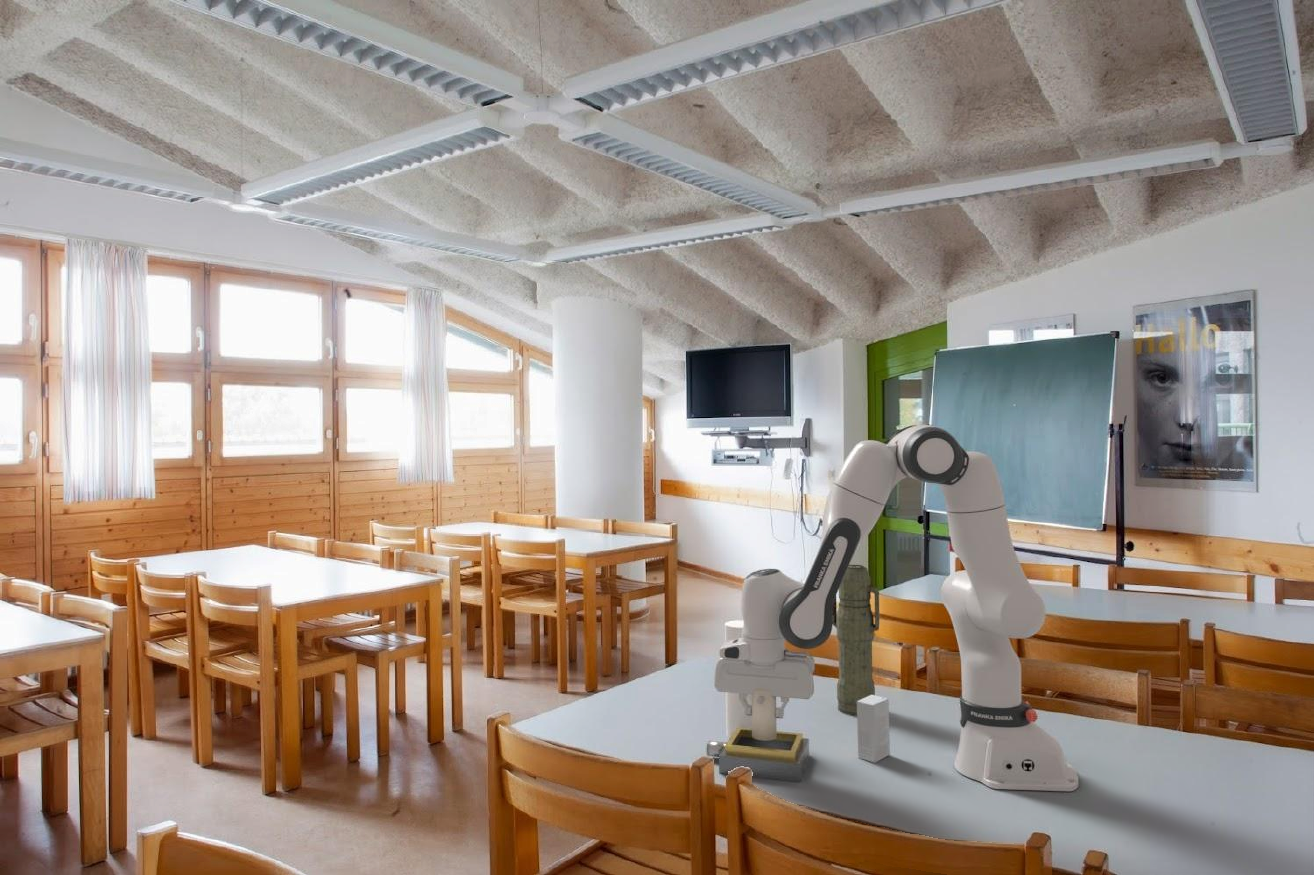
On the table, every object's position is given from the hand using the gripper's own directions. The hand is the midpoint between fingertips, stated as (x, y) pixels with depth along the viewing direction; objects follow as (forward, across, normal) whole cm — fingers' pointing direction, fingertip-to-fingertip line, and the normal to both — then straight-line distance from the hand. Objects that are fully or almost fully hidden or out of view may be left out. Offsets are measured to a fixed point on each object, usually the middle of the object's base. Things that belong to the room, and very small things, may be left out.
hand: (764, 716), depth 174 cm
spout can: (+4, 0, 0) cm, 4 cm away
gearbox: (+10, +2, 0) cm, 10 cm away
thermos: (+10, -15, -39) cm, 43 cm away
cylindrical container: (+10, +8, -15) cm, 20 cm away
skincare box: (+10, -21, -10) cm, 25 cm away
